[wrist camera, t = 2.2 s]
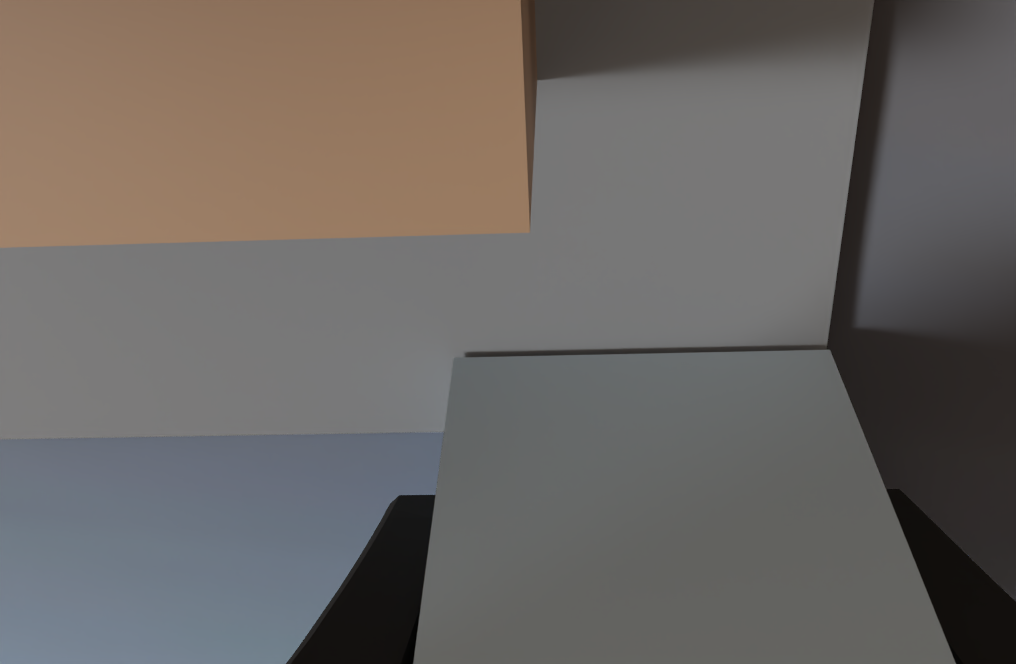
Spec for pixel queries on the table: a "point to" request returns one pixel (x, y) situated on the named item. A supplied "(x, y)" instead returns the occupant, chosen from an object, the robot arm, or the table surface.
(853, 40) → the mat
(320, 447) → the table surface
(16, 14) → the walnut block
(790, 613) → the pale grey small block
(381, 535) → the robot arm
